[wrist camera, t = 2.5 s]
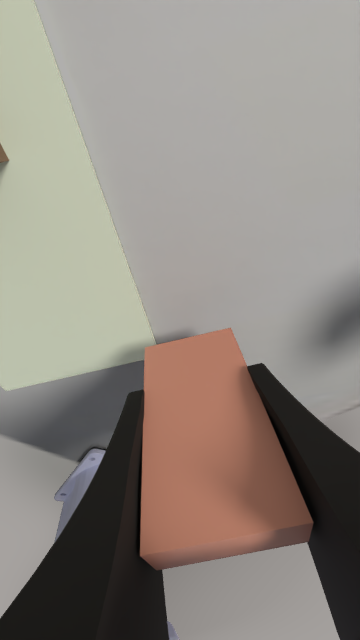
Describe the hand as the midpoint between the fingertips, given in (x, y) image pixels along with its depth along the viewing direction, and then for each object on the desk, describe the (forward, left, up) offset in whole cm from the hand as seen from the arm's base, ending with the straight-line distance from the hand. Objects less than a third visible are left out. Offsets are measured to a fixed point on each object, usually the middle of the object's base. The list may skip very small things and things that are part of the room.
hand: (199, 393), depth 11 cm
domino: (0, 0, -3) cm, 3 cm away
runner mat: (+7, +17, -5) cm, 18 cm away
